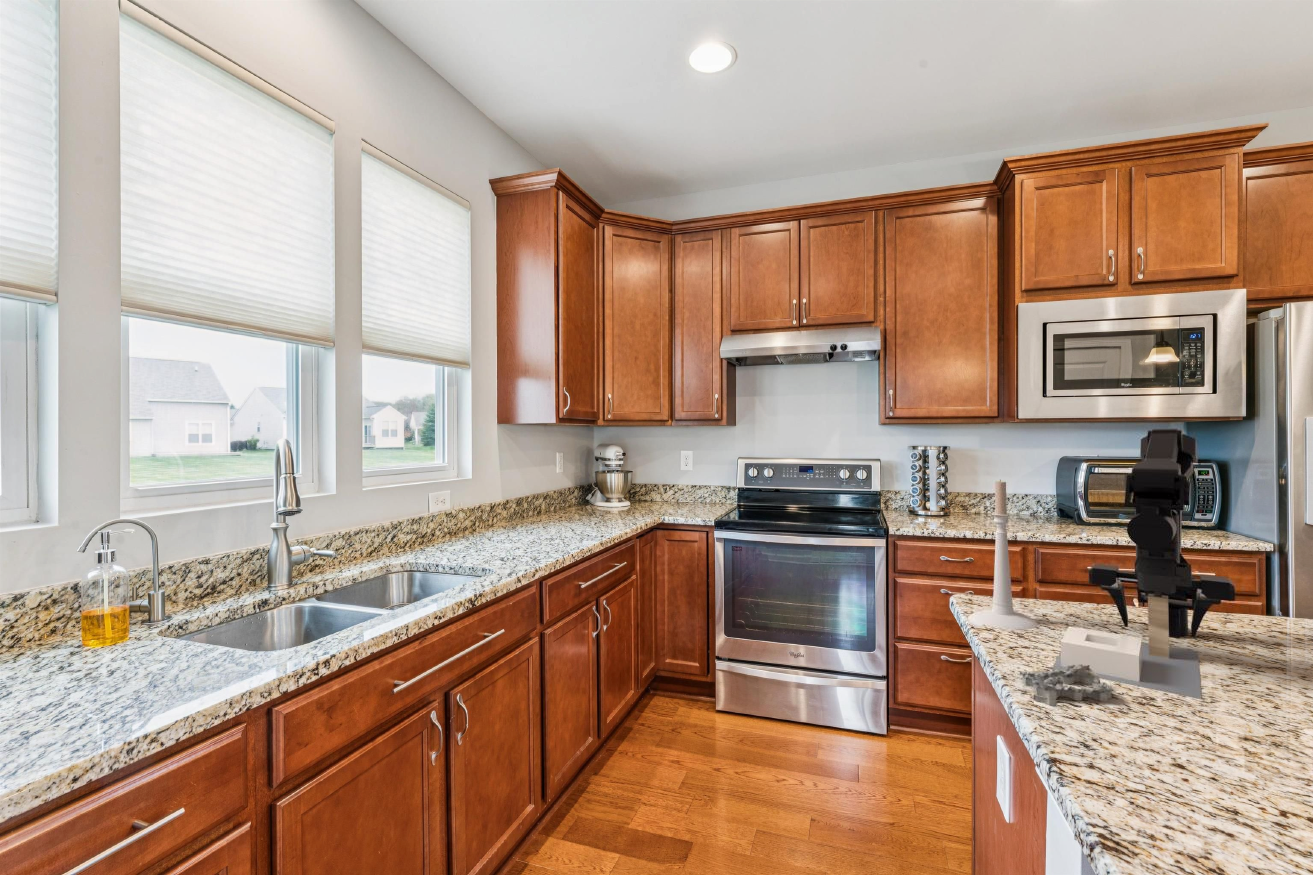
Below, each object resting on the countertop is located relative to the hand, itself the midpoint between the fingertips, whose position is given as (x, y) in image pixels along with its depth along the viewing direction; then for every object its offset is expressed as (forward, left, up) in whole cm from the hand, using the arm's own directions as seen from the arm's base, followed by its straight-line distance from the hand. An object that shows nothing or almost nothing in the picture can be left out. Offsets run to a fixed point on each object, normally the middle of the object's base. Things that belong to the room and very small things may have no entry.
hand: (1158, 631), depth 101 cm
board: (+6, -4, -5) cm, 9 cm away
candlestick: (-5, -24, -5) cm, 26 cm away
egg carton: (+26, -10, -6) cm, 29 cm away
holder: (+11, -7, -4) cm, 14 cm away
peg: (0, 0, -4) cm, 4 cm away
